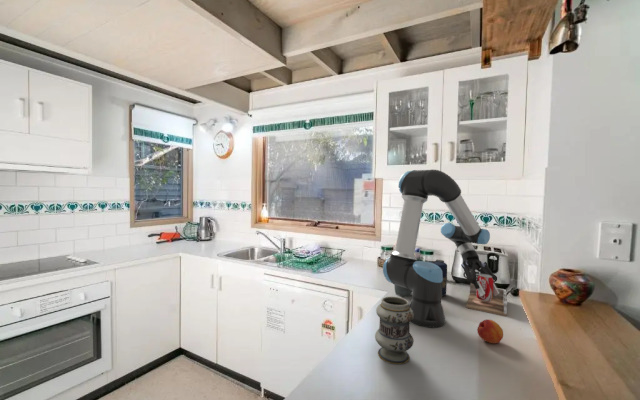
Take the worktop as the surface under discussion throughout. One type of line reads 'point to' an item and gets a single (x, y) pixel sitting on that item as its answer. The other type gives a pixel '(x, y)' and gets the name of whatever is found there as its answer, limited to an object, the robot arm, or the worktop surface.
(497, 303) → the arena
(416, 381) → the worktop surface
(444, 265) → the canister
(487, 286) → the soda can
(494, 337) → the fruit
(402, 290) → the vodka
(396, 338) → the apothecary jar
